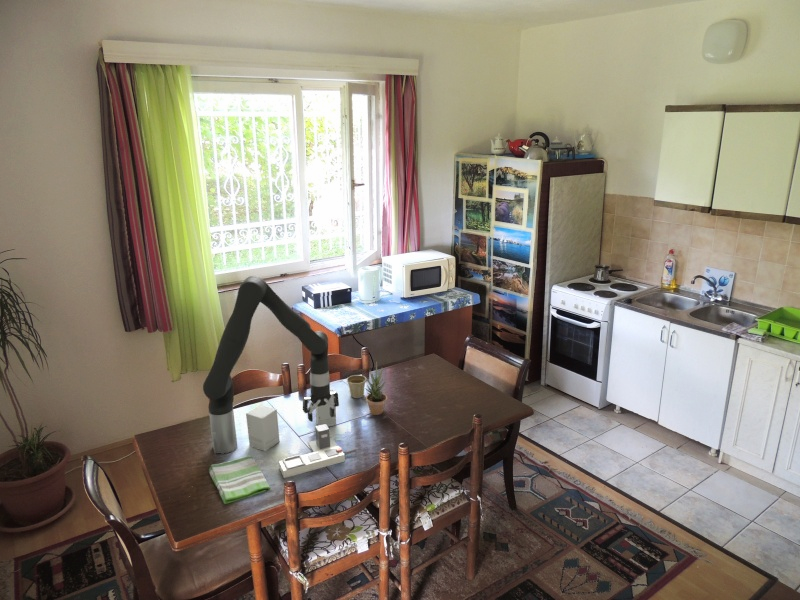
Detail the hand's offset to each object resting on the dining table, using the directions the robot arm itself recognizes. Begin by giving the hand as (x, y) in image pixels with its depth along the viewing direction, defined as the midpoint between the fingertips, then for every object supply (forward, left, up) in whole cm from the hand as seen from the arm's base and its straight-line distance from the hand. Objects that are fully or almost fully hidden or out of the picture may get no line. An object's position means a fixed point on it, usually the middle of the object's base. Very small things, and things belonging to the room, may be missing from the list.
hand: (321, 418), depth 226 cm
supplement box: (-21, +13, -13) cm, 28 cm away
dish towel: (-35, -8, -14) cm, 38 cm away
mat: (0, 0, -13) cm, 13 cm away
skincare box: (+7, +17, -13) cm, 22 cm away
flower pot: (+29, +36, -13) cm, 48 cm away
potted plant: (+31, +17, -13) cm, 38 cm away
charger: (0, 0, -12) cm, 12 cm away
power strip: (-5, -11, -13) cm, 17 cm away
